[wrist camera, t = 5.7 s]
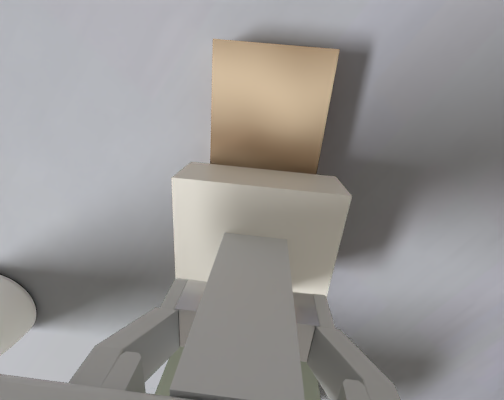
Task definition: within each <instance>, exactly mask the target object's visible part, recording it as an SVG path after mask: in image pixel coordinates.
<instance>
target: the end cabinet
mask: <svg viewBox="0 0 504 400" xmlns="http://www.w3.org/2000/svg"><path fill="white" fill-rule="evenodd" d="M183 349H184V347H181V346H179V349H178V350H177V351H176V352H175V353H174V354H173V355H172V356H171V357H170V358H169V360H168V362H167V365H166V367H165V370H164V372H163V375H162V377H161V380H160V382H159V385H158V387H157V390H156V392H155V395H163V396H170V391H169V389H170V386H171V383H172V380H173V378H174V375H175V372H176V369H177V366H178V363H179V360H180V358H181V355H182V352H183ZM300 362H301V371H302V380H303V389H304V398H305V400H321V398H320V392H319V385H318V380H317V379H316V377H315V375H314V374H313V372H312V371H311V369H310V367H309V366H308V364H307V362H302V361H300Z"/></svg>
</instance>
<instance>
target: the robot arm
mask: <svg viewBox="0 0 504 400" xmlns="http://www.w3.org/2000/svg"><path fill="white" fill-rule="evenodd" d="M206 284H207V282H205V281H197V280H190V279H189V280H188V279H181V278H176V279H175V280H174V282H173V284H172V285H171V287H170V289H169V291H168V293H167V295H166V297H165V298H164V300H163V302H162V304H161V306H160V308H159V307H155V308H154V309H152V310H151V311H149V312H148V313H146V314H144V315H143V316H141V317H140V318H138V319H137V320H135V321H133V322H132V323H130V324H129V325H127V326H126V327H124V328H122V329H121V330H119V331H118V332H116V333H114V334H113V335H111V336H110V337H108V338H107V339H105V340H103V341H102V342H100V343H99V344H97V345H96V346H95V347H94V348H93V349H92V351H91V352H90V353H89V355H88V356H87V358H86V359H85V360H84V362H83V363H82V365H81V366H80V367H79V369H78V370H77V371H76V373H75V374H74V376H73V377H72V378H71V380H70V381H69V383H64V382H57V381H49V380H41V379H34V378H26V377H19V376H11V375H4V374H0V400H193V399H186V398H178V397H171V396H163V395H155V394H148V393H146V392H145V382H146V381H147V380H148V379H149V378H150V377H151V376H152V375H153V374H154V373H155V372H156V371H157V370H158V369H159V368H160V367H161V366H162V365H163V364H164V363H165V362H166V361H167V360H168V359H169V358H170V357H171V356H172V355H173V354H174V353H175V352H176V351H177V350H178V349H179V346H181V347H184V346H185V343H186V341H187V338H188V335H189V332H190V329H191V326H192V324H193V321H194V318H195V315H196V312H197V309H198V307H199V304H200V301H201V298H202V295H203V292H204V289H205V287H206ZM293 299H294V308H295V317H296V326H297V335H298V344H299V353H300V361H302V362H307V364H308V366H309V367H310V369H311V371H312V372H313V374H314V375H315V377H316V379H317V380H318V382H319V383H320V385H321V387H322V388H323V390H324V391H325V393H326V394H327V396H328V398H329V399H330V400H401V399H400V397H399V395H398V393H397V390H396V388H395V386H394V384H393V383H392V382H391V381H390V380H389V379H388V378H387V377H386V376H385V375H384V374H383V373H382V372H381V371H380V370H379V369H378V368H377V367H376V366H375V365H374V364H373V363H372V362H371V361H370V360H369V359H368V358H367V357H366V356H365V355H364V354H363V353H362V352H361V351H360V350H359V349H358V348H357V347H356V346H355V345H354V344H353V343H352V342H351V341H350V340H349V339H348V337H347V336H346V335H345V334H344V333H343V332H342V331H341V330H340V329H335V326H334V322H333V319H332V315H331V312H330V309H329V305H328V302H327V298H326V296H325V295H321V294H308V293H299V292H293Z"/></svg>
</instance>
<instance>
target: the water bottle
mask: <svg viewBox="0 0 504 400" xmlns="http://www.w3.org/2000/svg"><path fill="white" fill-rule="evenodd" d="M35 320H36V307H35V304H34V301H33V299H32V298H31V296H30V295H29V294H28V292H27V291H26V290H25V289H24V288H23V287H22V286H20V285H19V284H18V283H16V282H15V281H13V280H11V279H9V278H7V277H5V276H2V275H0V356H1V355H2V354H3V353H5V352H6V351H7V350H8V349H9V348H11V347H12V346H13V345H14V344H15V343H16V342H17V341H19V340H20V339H21V338H22V337H23V336H24V335H25V334H26V333H27V332H28V331H29V330H30V329H31V328H32V326H33V325H34V323H35Z"/></svg>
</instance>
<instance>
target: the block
mask: <svg viewBox="0 0 504 400" xmlns="http://www.w3.org/2000/svg"><path fill="white" fill-rule="evenodd" d="M339 51H340V49H329V48H317V47H305V46H293V45H281V44H269V43H257V42H245V41H233V40H220V39H213V57H212V106H211V154H210V164H217V165H227V166H237V167H247V168H257V169H267V170H277V171H287V172H297V173H307V174H316V173H317V167H318V162H319V157H320V151H321V146H322V141H323V135H324V130H325V125H326V120H327V114H328V109H329V104H330V98H331V93H332V88H333V82H334V77H335V72H336V67H337V61H338V56H339Z"/></svg>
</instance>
